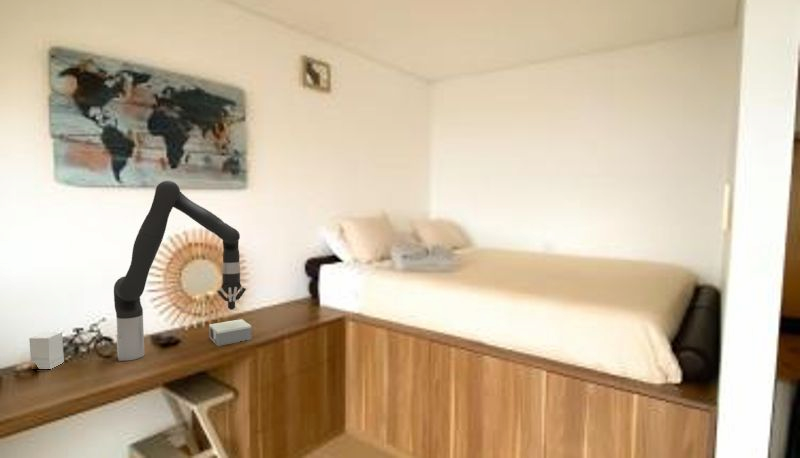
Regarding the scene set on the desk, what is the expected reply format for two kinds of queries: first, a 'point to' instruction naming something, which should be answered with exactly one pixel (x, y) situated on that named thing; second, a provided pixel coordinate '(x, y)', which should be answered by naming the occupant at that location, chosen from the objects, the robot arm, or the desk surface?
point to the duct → (231, 336)
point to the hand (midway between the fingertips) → (231, 309)
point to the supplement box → (47, 350)
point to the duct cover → (229, 326)
